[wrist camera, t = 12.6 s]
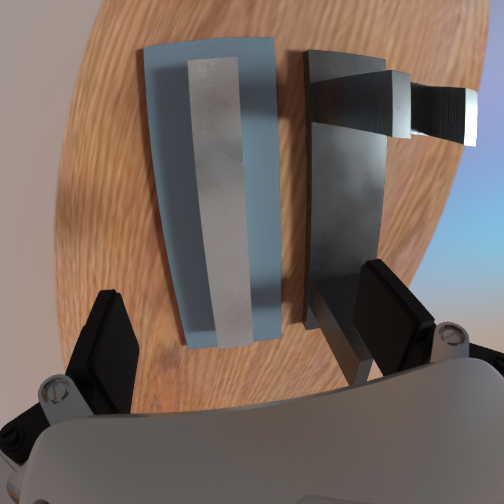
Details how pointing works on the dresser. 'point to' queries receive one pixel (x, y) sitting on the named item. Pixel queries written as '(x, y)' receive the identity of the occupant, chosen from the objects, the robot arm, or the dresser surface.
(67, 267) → the dresser surface
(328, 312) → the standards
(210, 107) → the rail
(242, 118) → the mat
